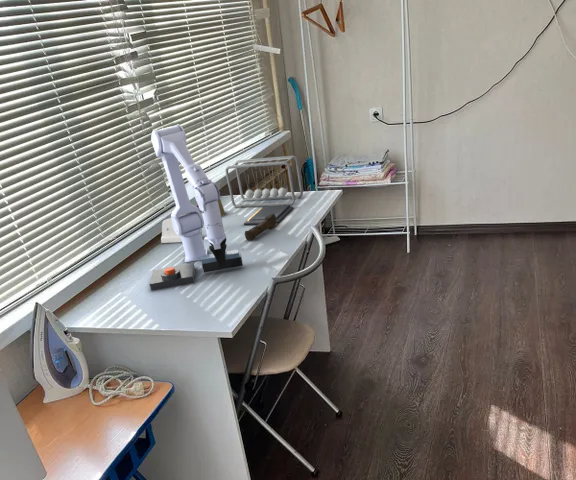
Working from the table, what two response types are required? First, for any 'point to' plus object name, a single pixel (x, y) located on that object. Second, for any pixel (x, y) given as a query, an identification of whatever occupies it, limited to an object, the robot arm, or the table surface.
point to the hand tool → (261, 227)
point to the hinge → (169, 232)
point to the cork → (221, 207)
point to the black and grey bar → (231, 258)
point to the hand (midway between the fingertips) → (222, 263)
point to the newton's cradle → (265, 192)
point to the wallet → (265, 211)
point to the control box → (172, 277)
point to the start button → (169, 270)
